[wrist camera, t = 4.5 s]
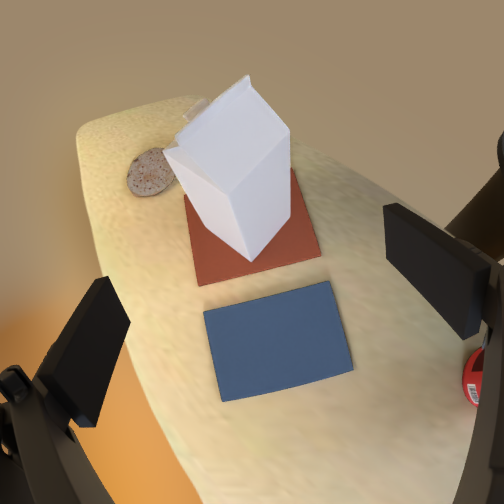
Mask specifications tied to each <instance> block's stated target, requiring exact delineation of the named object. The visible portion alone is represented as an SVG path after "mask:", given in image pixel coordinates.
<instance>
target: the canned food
mask: <svg viewBox="0 0 504 504" xmlns="http://www.w3.org/2000/svg"><path fill="white" fill-rule="evenodd" d="M481 348H482V347H481ZM481 348H479V349H478V350H477V351H475V352H474V353H473V354H472V355H471V356H470V358H469V359H468V361H467V363H466V365H465V368H464V371H463V377H462V385H463V390H464V393H465V396H466V397H467V399H468V400H469V401H470V402H471V403H472V404H473V405H475V406H476V407H478V403H479V397H480V390H481V383H482V374H483V365H484V353H485V348H484V349H481Z"/></svg>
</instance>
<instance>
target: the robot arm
mask: <svg viewBox="0 0 504 504" xmlns="http://www.w3.org/2000/svg"><path fill="white" fill-rule="evenodd" d="M383 214H384V227H385V243H386V259H387V260H388V261H389V262H390V263H391V264H392V265H393V266H394V267H395V268H396V269H397V270H398V271H399V272H400V273H401V274H402V275H403V276H404V277H405V278H406V279H407V280H408V281H409V282H410V283H411V284H412V285H413V286H414V287H415V288H416V289H417V290H418V291H419V292H420V294H421V295H422V296H423V297H424V298H425V299H426V300H427V301H428V302H429V303H430V304H431V305H432V306H433V307H434V309H435V310H436V311H437V312H438V313H439V314H440V315H441V316H442V317H443V318H444V320H445V321H446V322H447V323H448V324H449V325H450V326H451V327H452V329H453V330H454V331H455V332H456V333H457V334H458V335H459V337H460V338H461V339H462V340H465V339H467V338H469V337H471V336H473V335H475V334H477V333H479V329H480V325H481V320H483V321H484V322H485V323H486V324H487V325H488V327H487V330H486V334H485V338H484V341H483V345H482V348H481V349H484V348H485V353H484V365H483V374H482V383H481V390H480V397H479V403H478V409H477V415H476V420H475V425H474V430H473V435H472V439H471V444H470V448H469V452H468V456H467V459H466V463H465V467H464V470H463V474H462V477H461V480H460V483H459V487H458V490H457V493H456V495H455V498H454V501H453V504H504V265H503V266H502V265H501V264H499V263H498V262H496V261H495V260H494V259H492V258H491V257H489V256H488V255H487V254H485V253H484V252H483V253H482V251H481V250H479V249H478V248H475V246H473V245H472V244H470V243H469V242H467V241H465V240H462V239H459V238H453V237H451V236H450V235H448V234H447V233H445V232H444V231H442V230H440V229H439V228H437V227H436V226H434V225H433V224H431V223H429V222H428V221H426V220H425V219H423V218H422V217H420V216H418V215H417V214H415V213H413V212H412V211H410V210H408V209H407V208H405V207H403V206H402V205H400V204H398V203H393V204H388V205H384V206H383ZM130 323H131V322H130V320H129V318H128V316H127V314H126V312H125V310H124V308H123V306H122V304H121V302H120V300H119V298H118V296H117V294H116V292H115V289H114V287H113V285H112V283H111V281H110V279H109V277H108V276H106V277H102V278H98V279H95V280H94V282H93V283H92V285H91V286H90V288H89V289H88V291H87V292H86V294H85V295H84V297H83V299H82V300H81V302H80V303H79V305H78V306H77V308H76V309H75V311H74V313H73V314H72V316H71V318H70V319H69V321H68V322H67V324H66V325H65V327H64V329H63V330H62V332H61V334H60V335H59V337H58V339H57V340H56V342H54V343H53V345H51V347H50V349H49V351H48V352H47V355H46V356H45V358H44V359H43V362H42V363H41V365H40V367H39V368H38V370H37V372H36V374H35V376H34V378H33V379H32V381H31V380H30V379H29V378H28V376H27V375H26V374H25V373H24V371H23V370H22V368H21V367H20V366H19V365H12V366H10V367H8V368H6V369H5V370H4V371H2V372H1V374H0V392H1V393H2V395H3V396H4V397H5V398H6V399H7V401H8V402H5V403H2V404H1V403H0V504H115V503H114V501H113V500H112V498H111V497H110V495H109V494H108V492H107V490H106V489H105V487H104V485H103V484H102V482H101V481H100V479H99V477H98V476H97V474H96V472H95V470H94V469H93V467H92V465H91V463H90V461H89V460H88V458H87V456H86V454H85V452H84V450H83V448H82V447H81V445H80V443H79V441H78V439H77V437H76V435H75V433H74V431H73V430H72V428H71V427H70V426H69V425H68V424H69V422H70V419H71V418H72V419H73V421H74V422H75V423H76V424H77V425H78V426H79V427H83V428H84V427H96V424H97V421H98V417H99V414H100V411H101V408H102V405H103V401H104V398H105V395H106V392H107V389H108V386H109V383H110V380H111V377H112V374H113V371H114V368H115V365H116V362H117V359H118V356H119V353H120V350H121V348H122V345H123V342H124V339H125V337H126V334H127V331H128V328H129V326H130ZM1 443H2V444H3V445H4V446H5V447H6V448H7V449H8V455H7V454H6V453H5V452H4V451H3V449H2V445H1Z"/></svg>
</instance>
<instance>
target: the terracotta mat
mask: <svg viewBox="0 0 504 504" xmlns="http://www.w3.org/2000/svg"><path fill="white" fill-rule="evenodd" d="M184 200H185V207H186V214H187V221H188V227H189V234H190V240H191V246H192V252H193V258H194V264H195V270H196V276H197V282H198V286H203V285H207V284H211V283H215V282H219V281H224V280H228V279H232V278H236V277H240V276H244V275H248V274H252V273H256V272H260V271H264V270H268V269H272V268H276V267H280V266H284V265H288V264H292V263H296V262H300V261H304V260H308V259H311V258H315V257H319V256H321V252H320V249H319V246H318V243H317V240H316V236H315V233H314V230H313V227H312V224H311V221H310V218H309V215H308V212H307V209H306V206H305V203H304V200H303V197H302V194H301V192H300V189H299V186H298V183H297V180H296V177H295V175H294V172H293V169H292V167H291V168H290V218H289V219H288V220H287V221H286V223H285V224H284V225H283V226H282V227H281V229H280V230H279V231H278V232H277V233H276V234H275V236H274V237H273V238H272V239H271V240H270V242H269V243H268V244H267V245H266V246H265V247H264V249H263V250H262V251H261V252H260V253H259V255H258V256H257V257H256V258H255V259H254V260H253V261H252V262H250V261H249V260H248V259H246V258H245V257H244V256H242V255H241V254H240V253H238V252H237V251H236V250H235V249H233V248H232V247H231V246H229V245H228V244H227V243H225V242H224V241H223V240H222V239H220V238H219V237H218V236H216V235H215V234H214V233H212V232H211V231H210V230H209V229H207V228H206V227H205V225H204V224H203V222H202V220H201V219H200V217H199V215H198V213H197V212H196V210H195V208H194V207H193V205H192V203H191V201H190V200H189V198H188V196H187V194H185V195H184Z"/></svg>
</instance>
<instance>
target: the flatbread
mask: <svg viewBox="0 0 504 504" xmlns="http://www.w3.org/2000/svg"><path fill="white" fill-rule="evenodd" d="M164 149H165V148H153V149H150V150H148V151H146V152H144V153H143V154H141V155H139V156H138V157H137V158H136V159H135V160H134V161H133V162H132V164H131V166H130V169H129V172H128V175H127V186H128V188H129V189H130V191H131V192H132V194H133V195H134V196H136V197H139V196H149V195H154V194H157V193H159V192H161V191H162V190H163V189H164V188H166V187H167V186H168V185H169V184H170V183H171V182H172V180H173V179H174V177H175V173H174V172H173V170H172V168H171V166H170V165H169V163H168V161H167V159H166V157H165V156H164V154H163V152H162V151H163V150H164Z"/></svg>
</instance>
